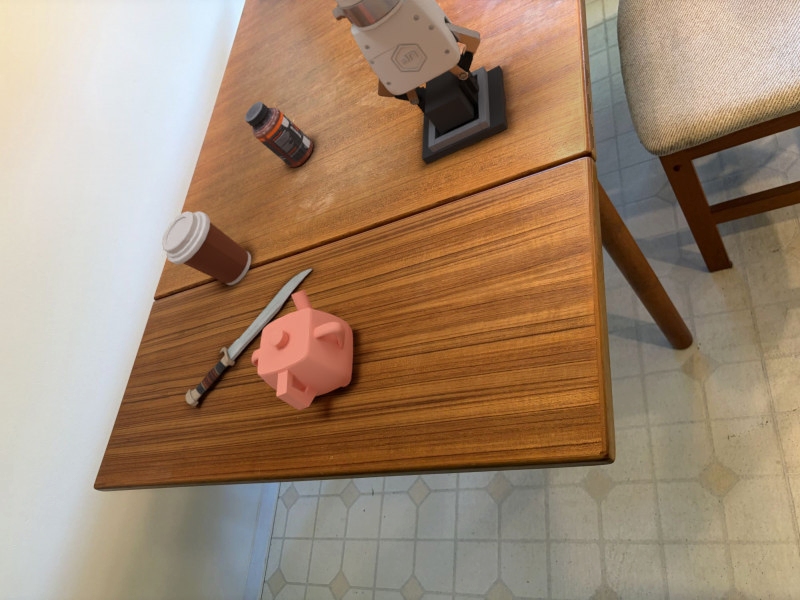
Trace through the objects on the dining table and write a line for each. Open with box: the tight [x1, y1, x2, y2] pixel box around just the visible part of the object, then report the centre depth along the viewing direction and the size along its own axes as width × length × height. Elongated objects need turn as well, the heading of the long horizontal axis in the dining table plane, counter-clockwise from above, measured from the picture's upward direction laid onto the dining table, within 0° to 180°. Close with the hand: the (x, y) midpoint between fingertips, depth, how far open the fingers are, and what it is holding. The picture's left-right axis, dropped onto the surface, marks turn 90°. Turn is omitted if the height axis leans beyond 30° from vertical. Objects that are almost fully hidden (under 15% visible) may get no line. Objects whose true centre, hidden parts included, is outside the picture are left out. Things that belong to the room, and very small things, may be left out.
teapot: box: [251, 289, 354, 411], centre depth 66 cm, size 12×12×10 cm
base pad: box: [421, 65, 508, 165], centre depth 75 cm, size 12×11×2 cm
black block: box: [425, 71, 474, 133], centre depth 73 cm, size 5×7×4 cm
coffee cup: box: [161, 210, 252, 286], centre depth 89 cm, size 9×9×12 cm
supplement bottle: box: [244, 101, 314, 168], centre depth 93 cm, size 6×6×11 cm
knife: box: [185, 268, 313, 407], centre depth 82 cm, size 27×2×5 cm
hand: (455, 105), depth 74 cm, fingers closed on black block, 5 cm apart
